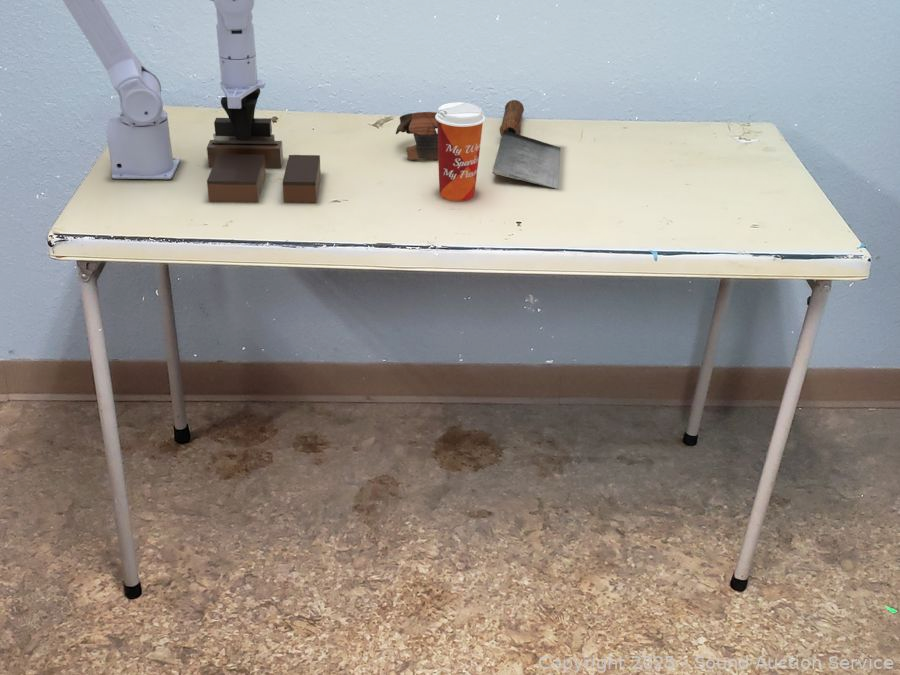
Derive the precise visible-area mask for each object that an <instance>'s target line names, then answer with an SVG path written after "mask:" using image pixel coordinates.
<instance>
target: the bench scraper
mask: <svg viewBox="0 0 900 675" xmlns="http://www.w3.org/2000/svg"><path fill="white" fill-rule="evenodd" d="M213 126H214V133H213V134H212V135H213V140H214V145H261V146H275V141H276V139H275V138H276V136H275V134H272V133H273V126H272V118H263V117H261V118H259V117H257V118H255V117H254V118H252V124H251V135H250V139H249V141H238V140H237V139H236V137H235V134H234V131H233V128H232V125H231V122H230V119H229V117H215V120H214V122H213Z"/></svg>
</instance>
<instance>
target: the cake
mask: <svg viewBox="0 0 900 675" xmlns="http://www.w3.org/2000/svg"><path fill="white" fill-rule="evenodd" d="M266 169H267V168H265V156H264V155H259V154H218V155H217V158H216V160H215V162H214V165H213V167H211V170H210V172H209V175H208V177H207V180H206V185H207V196H208V202H212V203H213V202H214V203H258V202H259V200H260V196H261V194H262V189H263V186H264V182H265V179H266V176H267V170H266Z"/></svg>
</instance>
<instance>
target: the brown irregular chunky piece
mask: <svg viewBox="0 0 900 675" xmlns="http://www.w3.org/2000/svg"><path fill="white" fill-rule="evenodd" d="M437 113H438V111H437V112H436V111H435V112H434V111H419V112H411V113H410V112H409V113H406V114H402V115H401V116H400V117H399V122H400V123H399V125H397V128H396V130H395V135H398V134H399V133H400V132H401V133H406V134H408V135H410V134H411V135H413V138H414V142H415V144H414V145H411V146H407V147H406V148H405V152H406V155H407V156H406V157H407V160H408V161H410V160H411V161H412V160H413V161H414V160H423V159H424V160H438V132H437V130H436V129H438V126H437V120H436V118H435V116H436V114H437Z"/></svg>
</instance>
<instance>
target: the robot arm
mask: <svg viewBox="0 0 900 675" xmlns="http://www.w3.org/2000/svg"><path fill="white" fill-rule="evenodd" d="M210 1H211V2H213V3H214V4H213V5H214V7H215V9H216V10H215V12H216V22H217V23H216V39H217V50H218V59H219V71H220V82H219V85H220V88H221V90H222V92H223V93H224V96H222V97H221V98H220V105H221V107H222V109H223V110H224V112H225V114H226V115H227V118H229V119H230V122H231V125H232V128H233V131H234V134H235V137H236V139H237V140H238V141H249V139H250V135H251V124H252V118H255V112H256V105H257V103H258V99H259V96H260V94H261V89H265V87H266V81H265V80H261V79H260V80H259V79H258V68H257V56H256V55H257V54H256V40H255V38H256V37H255V27H254V26H255V25H254V24H253V13H252V10H253V9H254V6H255V0H210ZM62 2H63V3H64V5H65V6H66V8H67V10H68V12H70V14H71V16H72V18H73V19H74V21H75V22H76V24H77V26H78V27H79V28H80V30H81V32H82V33H83V35H84V37H85V38H86V40H87V41H88V43H89V44H90V46H91V47H92V49H93V50H94V52H95V54H96V56H97V57H98V59H99V60H100V62H101V64H102V65H103V66H104V69H105V70H106V72H107V74H108V76H109V79H110V82H111V84H112V87H113V89H114V90H115V92H116V93H117V96H118V98H119V107H120V112H121V113H120V114H119V115H120V116H116V117H109V119H108V121H107V124H106V141H107V147H108V154H109V160H110V165H111V171H112V174H111V178H112V179H115V180H123V179H124V180H171V179H172V178H173V177H174V176H175V173H176V170H178V169H177V168H178V167H179V165H180V163H181V159H180V158H179V157H176V158H174V157H173V150H172V140H171V134H170V133H171V132H170V126H169V125H170V124H169V118H168V112H167V111H166V110H164V102H163V99H162V85H161V82H160V80H159V77H158V76H157V75H156V74H155V73H154V72H152V71H150V70H149V69H147V68H146V67H145V66H144V64H143V63H142V62H141V59H140V58H139V57H138V56H137V55H136V54H135V53H134V52H133V51H132V48H131V47H130V45H129V43H128V42H127V41H126V38H125V37H124V35H123V34H122V32H121V30H120V29H119V27H118V25H117V24H116V22H115V20H114V19H113V17H112V16H111V14H110V13H109V10H108V9H107V7H106V6H105V4H104V2H103V0H62Z"/></svg>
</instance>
